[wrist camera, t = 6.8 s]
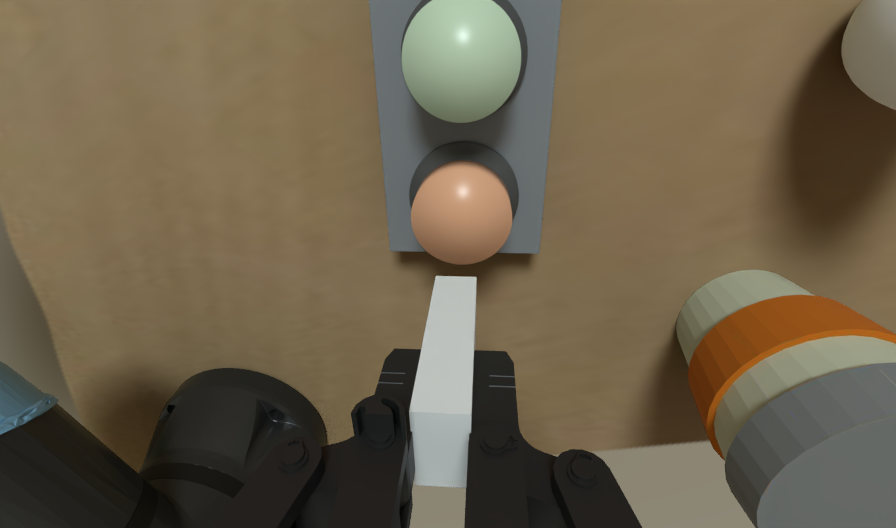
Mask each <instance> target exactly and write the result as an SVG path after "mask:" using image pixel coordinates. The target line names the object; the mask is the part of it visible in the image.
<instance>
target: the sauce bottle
mask: <svg viewBox="0 0 896 528" xmlns="http://www.w3.org/2000/svg"><path fill="white" fill-rule="evenodd" d="M841 55H842V60H843V64H844V68H845V70H846V72H847V74H848V75H849V77H850V79H851V80H852V82H853V83H854V84H855V85H856V86H857V87H858V88H859V89H860V90H861V91H862V92H864V93H865V94H866V95H867V96H868V97H870V98H871V99H873V100H875V101H876V102H878V103H881V104H883V105H885V106H887V107H889V108H891V109H893V110H896V0H862V1H861V3H860V4H859V5H858V7H857V8H856V9H855V11H854V13H853V15H852V17H851V18H850V20H849V22H848V25H847V27H846V30H845V32H844V36H843V41H842V50H841Z"/></svg>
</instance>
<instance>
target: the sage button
mask: <svg viewBox="0 0 896 528" xmlns="http://www.w3.org/2000/svg"><path fill="white" fill-rule="evenodd" d="M520 67H521V47H520V41H519V37H518V34H517V31H516V29H515V26H514V24H513V23H512V21H511V19H510V18H509V16H508V15H507V14H506V12H505V11H504V10H503V9H502V8H501V7H500V6H499V5H497V4H496V3H495V2H494V1H492V0H432V1H430V2H429V3H427V4H426V5H425V6H424V7H423V8H422V9H421V10H420V11H419V12H418V13H417V14H416V16H415V17H414V18H413V20H412V21H411V23H410V25H409V27H408V29H407V32H406V34H405V37H404V41H403V46H402V70H403V74H404V78H405V81H406V84H407V86H408V88H409V90H410V92H411V94H412V96H413V97H414V98H415V100H416V101H417V102H418V103H419V105H420V106H421V107H423V108H424V109H425V110H426V111H427V112H429V113H430V114H432V115H433V116H435V117H437V118H439V119H442V120H445V121H449V122H454V123H467V122H473V121H477V120H480V119H482V118H485V117H486V116H488V115H490V114H492V113H493V112H495V111H496V110H497V109H498V108H499V107H500V106H502V105H503V103H504V102H505V101H506V100H507V99H508V97H509V96H510V94H511V93H512V91H513V89H514V87H515V85H516V82H517V79H518V76H519V72H520Z"/></svg>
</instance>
